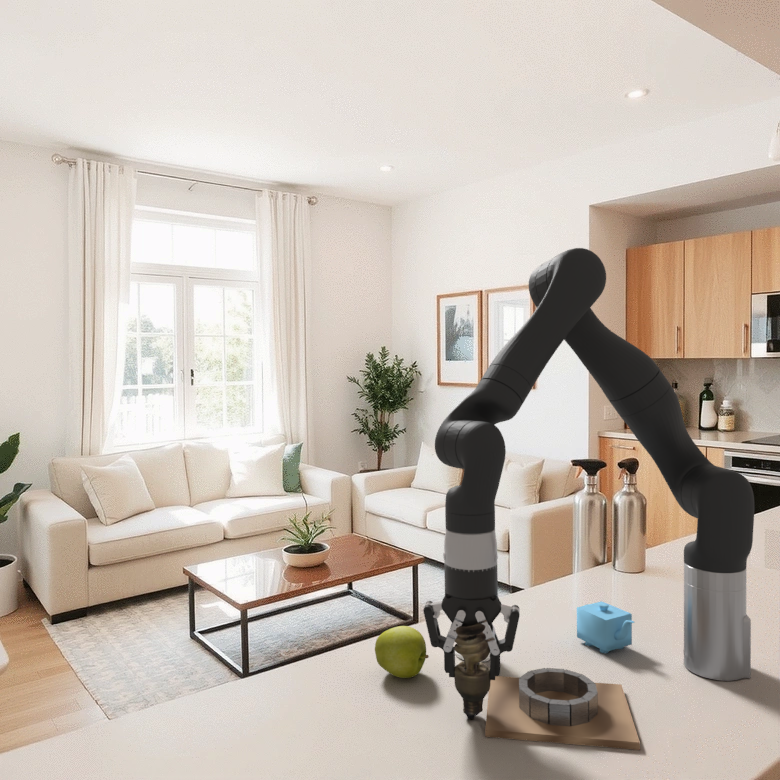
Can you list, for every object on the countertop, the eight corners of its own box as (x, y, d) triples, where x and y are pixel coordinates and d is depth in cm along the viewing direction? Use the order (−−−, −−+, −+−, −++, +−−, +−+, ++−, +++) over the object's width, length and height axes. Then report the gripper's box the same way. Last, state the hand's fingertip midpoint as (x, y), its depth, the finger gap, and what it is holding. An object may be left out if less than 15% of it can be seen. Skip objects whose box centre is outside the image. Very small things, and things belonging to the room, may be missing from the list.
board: (621, 690, 104) (621, 684, 103) (639, 750, 88) (639, 742, 88) (490, 681, 107) (490, 675, 107) (485, 736, 92) (485, 729, 92)
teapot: (647, 656, 115) (647, 613, 115) (621, 664, 113) (621, 620, 112) (595, 632, 126) (595, 592, 126) (571, 639, 123) (570, 598, 123)
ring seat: (592, 690, 102) (592, 670, 102) (601, 729, 91) (601, 707, 91) (519, 685, 104) (518, 666, 104) (519, 722, 93) (519, 701, 93)
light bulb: (450, 707, 99) (449, 607, 99) (487, 705, 100) (486, 605, 99) (457, 728, 94) (456, 622, 93) (496, 725, 94) (495, 620, 94)
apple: (423, 691, 105) (422, 640, 104) (368, 682, 108) (367, 633, 108) (437, 669, 112) (436, 622, 112) (386, 661, 115) (385, 615, 115)
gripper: (521, 554, 98) (523, 668, 99) (424, 550, 101) (426, 661, 102) (522, 569, 91) (523, 692, 92) (417, 565, 94) (418, 685, 94)
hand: (472, 675), depth 97 cm, fingers closed on light bulb, 5 cm apart
